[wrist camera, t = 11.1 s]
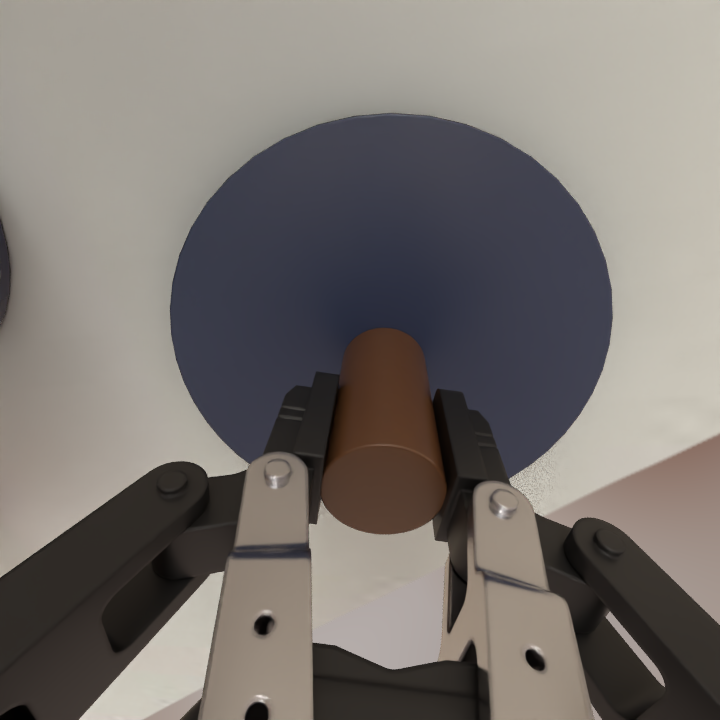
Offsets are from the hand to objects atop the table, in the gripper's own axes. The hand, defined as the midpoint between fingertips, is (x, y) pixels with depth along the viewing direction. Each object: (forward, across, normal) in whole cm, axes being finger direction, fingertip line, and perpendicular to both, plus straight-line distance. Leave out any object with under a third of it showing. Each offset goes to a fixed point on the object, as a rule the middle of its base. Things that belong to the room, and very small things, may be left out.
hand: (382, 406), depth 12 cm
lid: (+3, 0, 0) cm, 3 cm away
